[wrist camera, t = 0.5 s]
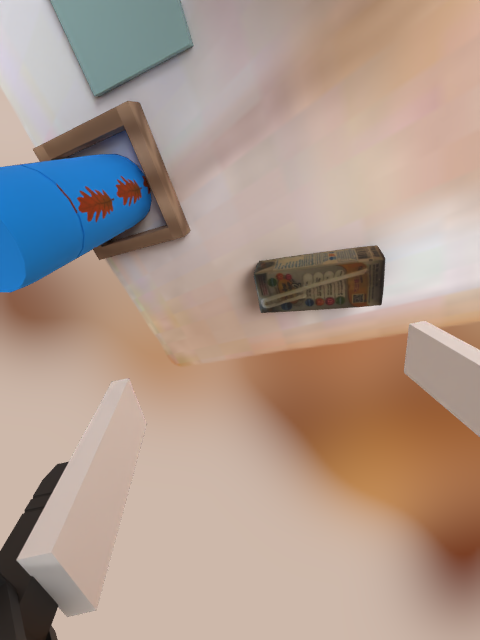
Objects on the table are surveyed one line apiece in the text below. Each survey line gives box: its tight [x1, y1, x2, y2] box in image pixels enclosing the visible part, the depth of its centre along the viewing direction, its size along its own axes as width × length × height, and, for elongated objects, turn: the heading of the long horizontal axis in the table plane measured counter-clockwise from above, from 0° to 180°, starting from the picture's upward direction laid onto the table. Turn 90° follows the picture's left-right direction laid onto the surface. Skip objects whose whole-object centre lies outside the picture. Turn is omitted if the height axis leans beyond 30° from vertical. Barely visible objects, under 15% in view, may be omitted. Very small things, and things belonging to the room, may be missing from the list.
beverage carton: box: [254, 246, 385, 313], centre depth 44 cm, size 8×19×7 cm, turn 103°
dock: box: [33, 101, 190, 260], centre depth 43 cm, size 18×18×3 cm
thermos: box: [0, 154, 152, 292], centre depth 35 cm, size 11×11×25 cm
